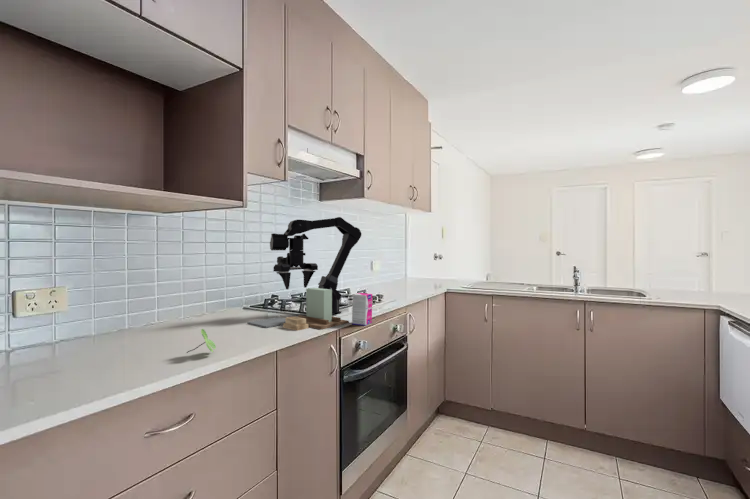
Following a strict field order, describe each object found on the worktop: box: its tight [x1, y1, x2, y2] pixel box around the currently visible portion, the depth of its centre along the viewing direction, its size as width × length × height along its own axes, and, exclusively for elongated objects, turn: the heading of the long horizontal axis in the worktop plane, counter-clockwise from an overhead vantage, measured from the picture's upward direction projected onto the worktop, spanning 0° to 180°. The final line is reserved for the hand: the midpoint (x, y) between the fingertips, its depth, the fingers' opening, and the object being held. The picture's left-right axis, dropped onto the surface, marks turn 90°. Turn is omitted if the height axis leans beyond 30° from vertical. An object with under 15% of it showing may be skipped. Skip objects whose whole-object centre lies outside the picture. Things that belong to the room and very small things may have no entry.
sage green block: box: [305, 287, 333, 322], centre depth 146 cm, size 4×10×12 cm, turn 50°
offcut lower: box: [282, 323, 310, 332], centre depth 137 cm, size 5×8×2 cm, turn 51°
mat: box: [247, 316, 286, 329], centre depth 146 cm, size 14×12×1 cm
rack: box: [297, 314, 350, 330], centre depth 146 cm, size 14×18×2 cm
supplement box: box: [351, 292, 373, 327], centre depth 144 cm, size 6×6×12 cm
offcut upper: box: [284, 315, 306, 326], centre depth 137 cm, size 4×7×2 cm, turn 46°
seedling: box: [185, 328, 217, 354], centre depth 105 cm, size 7×8×7 cm
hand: (296, 288), depth 157 cm, fingers open, 9 cm apart
